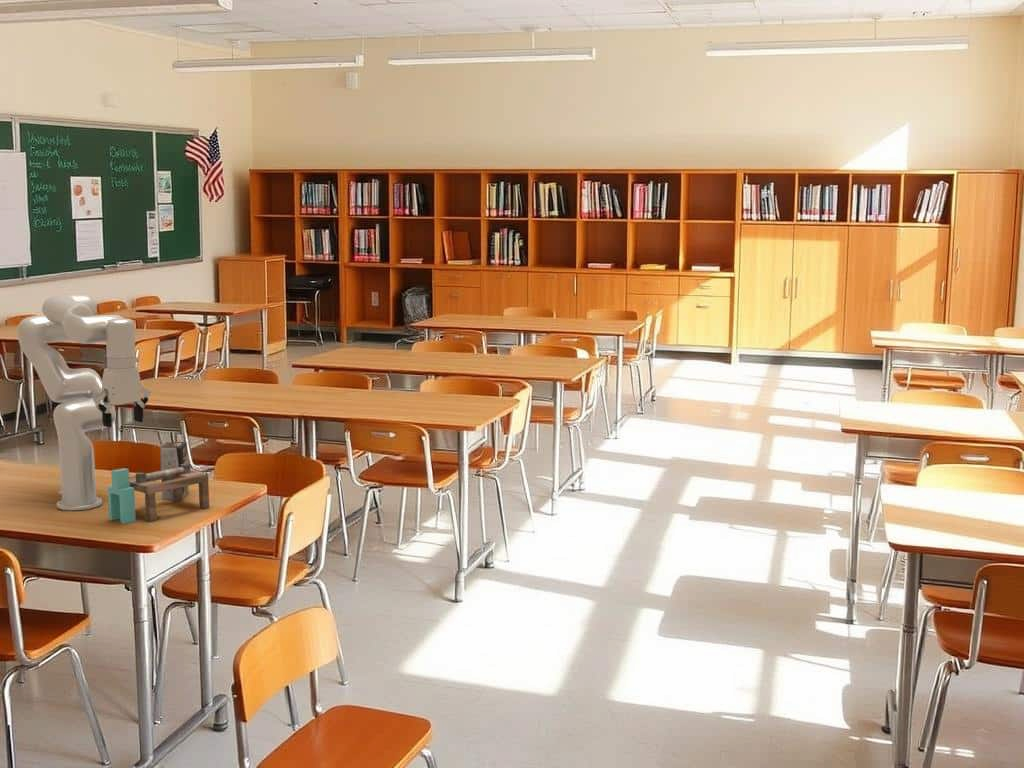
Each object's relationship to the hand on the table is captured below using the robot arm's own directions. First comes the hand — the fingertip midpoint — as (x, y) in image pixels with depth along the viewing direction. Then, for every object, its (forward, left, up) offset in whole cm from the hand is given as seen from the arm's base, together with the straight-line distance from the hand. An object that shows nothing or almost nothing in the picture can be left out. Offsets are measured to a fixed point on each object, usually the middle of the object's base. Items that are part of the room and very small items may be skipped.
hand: (123, 423), depth 316 cm
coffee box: (-15, +26, -28) cm, 41 cm away
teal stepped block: (-2, 0, -28) cm, 28 cm away
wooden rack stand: (-2, +14, -28) cm, 31 cm away
